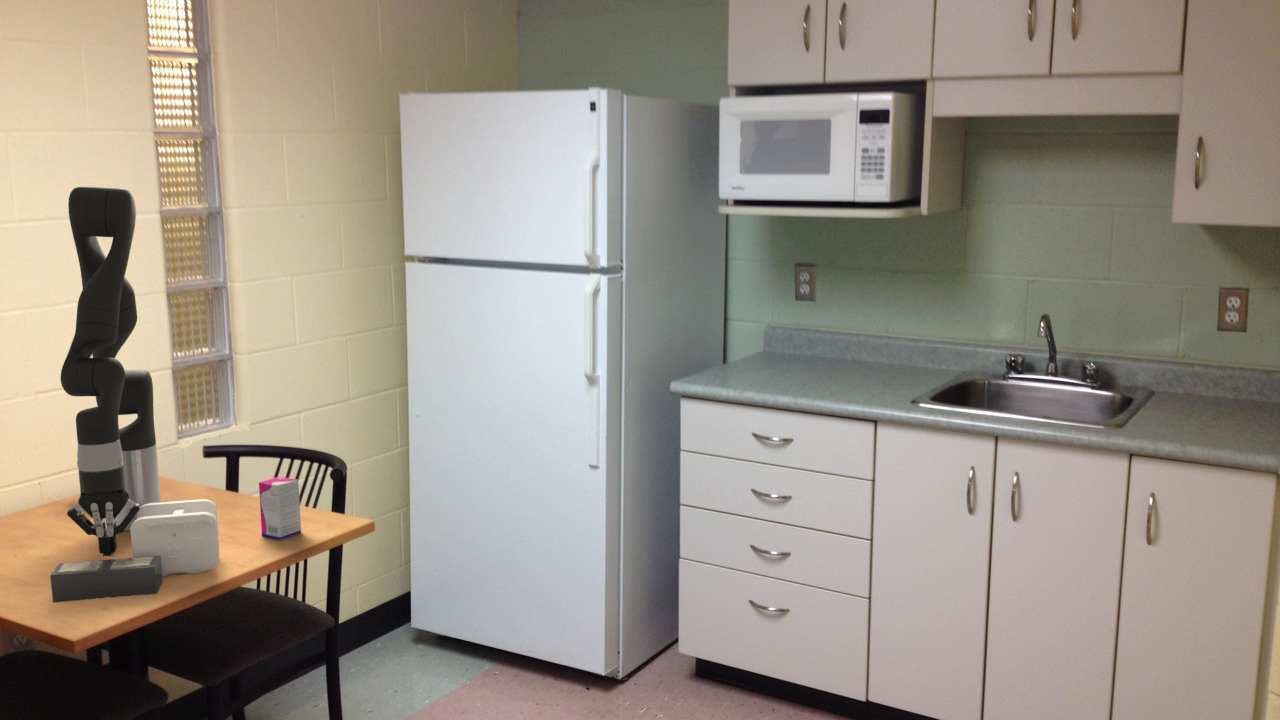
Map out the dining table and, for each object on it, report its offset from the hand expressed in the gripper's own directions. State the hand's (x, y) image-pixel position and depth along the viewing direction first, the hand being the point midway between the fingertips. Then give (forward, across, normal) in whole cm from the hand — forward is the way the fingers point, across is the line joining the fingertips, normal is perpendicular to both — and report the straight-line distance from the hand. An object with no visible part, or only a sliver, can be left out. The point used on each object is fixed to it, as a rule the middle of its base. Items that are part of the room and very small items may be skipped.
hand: (108, 554), depth 213 cm
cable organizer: (+4, -12, 0) cm, 13 cm away
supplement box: (+4, -30, -16) cm, 34 cm away
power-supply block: (+4, -2, +10) cm, 11 cm away
